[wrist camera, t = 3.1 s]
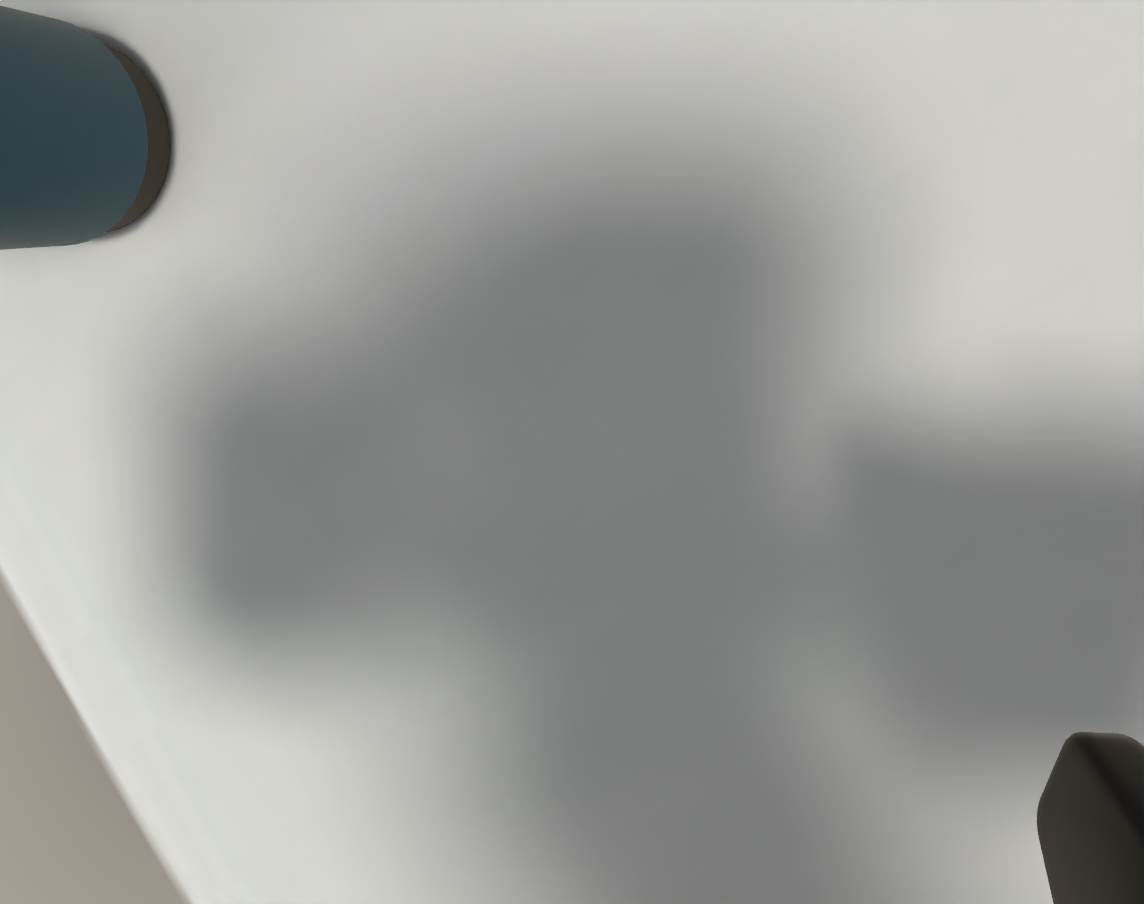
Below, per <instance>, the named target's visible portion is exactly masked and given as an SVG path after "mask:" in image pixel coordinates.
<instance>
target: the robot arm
mask: <svg viewBox="0 0 1144 904" xmlns="http://www.w3.org/2000/svg"><path fill="white" fill-rule="evenodd" d="M1037 829H1038V835H1039V840H1040V845H1041V849H1042V854H1043V858H1044V863H1045V867H1046V872H1047V876H1048V881H1049V885H1050V889H1051V894H1052V898H1053V903H1054V904H1144V746H1143V745H1142V744H1140V743H1139V742H1138V741H1136V740H1135V739H1133V738H1131V737H1129V736H1126V735H1123V734H1113V733H1092V732H1078V733H1074V734H1072V735H1071V736H1070V737H1069V738H1067V739H1066V741H1065V743H1064V745H1063V746H1062V749H1061V751H1060V753H1059V756H1058V758H1057V760H1056V763H1055V765H1054V768H1053V770H1052V772H1051V775H1050V777H1049V779H1048V782H1047V784H1046V786H1045V789H1044V791H1043V793H1042V796H1041V798H1040V801H1039V805H1038V810H1037Z"/></svg>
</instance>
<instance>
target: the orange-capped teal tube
mask: <svg viewBox="0 0 1144 904" xmlns="http://www.w3.org/2000/svg"><path fill="white" fill-rule="evenodd" d="M168 160H169V132H168V126H167V120H166V117H165V113H164V110H163V107H162V104H161V102H160V99H159V97H158V95H157V93H156V91H155V89H154V88H153V86H152V84H151V83H150V81H149V80H148V78H147V77H146V76H145V74H144V73H143V72H142V71H141V70H140V68H139V67H138V66H137V65H136V64H135V63H134V62H133V61H132V60H130V59H129V58H128V57H127V56H126V55H124V54H123V53H121V52H120V51H118V50H117V49H115V48H113V47H111V46H109V45H107V44H105V43H102V42H100V41H99V40H98V39H97V38H95V37H94V36H92V35H91V34H89V33H88V32H86V31H85V30H83V29H81V28H79V27H77V26H75V25H73V24H70V23H67V22H64V21H60V20H57V19H53V18H49V17H44V16H40V15H36V14H32V13H28V12H24V11H20V10H15V9H11V8H7V7H3V6H0V249H16V248H32V247H49V246H65V245H74V244H79V243H83V242H86V241H89V240H91V239H94V238H96V237H98V236H100V235H101V234H103V233H105V232H109V231H112V230H116V229H119V228H121V227H123V226H125V225H128V224H129V223H131V222H132V221H134V220H135V219H137V218H138V217H139V216H140V215H141V214H142V213H143V212H144V211H145V210H146V209H147V208H148V207H149V206H150V204H151V203H152V202H153V200H154V199H155V197H156V195H157V194H158V192H159V190H160V188H161V185H162V183H163V181H164V177H165V174H166V171H167V165H168Z"/></svg>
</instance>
